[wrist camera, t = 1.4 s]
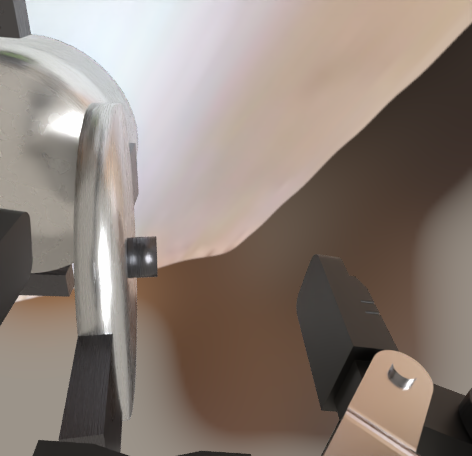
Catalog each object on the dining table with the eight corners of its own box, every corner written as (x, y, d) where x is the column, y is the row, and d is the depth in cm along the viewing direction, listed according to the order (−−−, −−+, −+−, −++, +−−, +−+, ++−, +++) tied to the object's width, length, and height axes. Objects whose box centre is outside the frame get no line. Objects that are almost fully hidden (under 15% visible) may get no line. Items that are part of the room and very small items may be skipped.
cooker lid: (102, 69, 29) (150, 71, 29) (122, 278, 39) (157, 276, 39) (14, 281, 10) (155, 274, 10) (98, 581, 20) (166, 568, 20)
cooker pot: (143, -7, 37) (115, 3, 27) (153, 241, 51) (137, 308, 41) (-93, -27, 35) (-218, -24, 25) (-14, 234, 50) (-72, 302, 40)
